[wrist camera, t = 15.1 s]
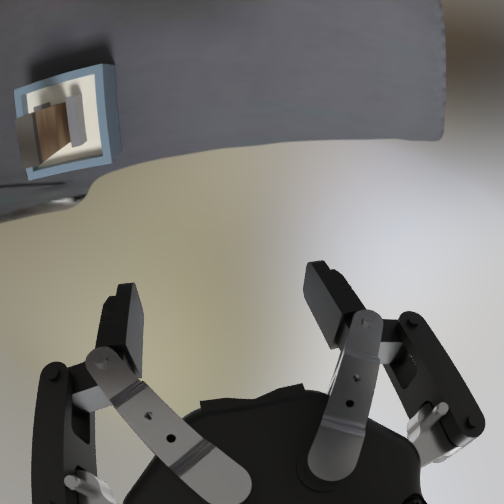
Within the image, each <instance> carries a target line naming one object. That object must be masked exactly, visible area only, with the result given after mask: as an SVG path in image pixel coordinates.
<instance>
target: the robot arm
mask: <svg viewBox="0 0 504 504" xmlns="http://www.w3.org/2000/svg"><path fill="white" fill-rule="evenodd" d="M303 292H304V297H305V300H306V302H307V304H308V306H309V307H310V310H311V312H312V314H313V316H314V317H315V319H316V321H317V323H318V325H319V327H320V329H321V331H322V333H323V335H324V337H325V339H326V341H327V343H328V345H329V347H330V349H335V348H339V349H340V351H341V353H340V355H339V358H338V361H337V365H336V368H335V371H334V374H333V377H332V380H331V383H330V385H329V388H328V391H327V393H326V394H325V393H322V392H319V391H314V390H305V389H304V386H303V384H302V383H301V384H297V385H292V386H288V387H283V388H279V389H276V390H274V391H272V392H270V393H267V394H265V395H263V396H261V397H258V398H256V399H236V398H221V399H213V400H206V401H200V405H201V408H199V409H197V410H194V411H192V412H191V413H189V414H188V415H186V416H185V417H183V418H182V419H181V418H180V417H179V416H178V415H177V414H176V413H175V412H174V411H173V410H172V409H171V408H170V407H169V406H168V405H167V404H166V403H165V402H164V401H163V400H162V399H161V398H160V397H159V396H158V395H157V394H156V393H155V392H154V391H153V390H152V389H151V388H150V387H149V386H148V385H147V384H146V383H145V382H144V381H142V382H141V381H140V380H139V379H138V378H142V348H143V326H144V314H143V309H142V305H141V301H140V298H139V295H138V291H137V288H136V285H135V283H125V284H119V285H118V288H117V293H116V296H109V297H108V299H107V300H106V302H105V303H104V305H103V309H102V315H101V319H100V324H99V330H98V335H97V340H96V346H95V349H94V350H92V351H91V352H90V353H89V354H88V355H87V357H86V360H85V362H83V363H80V364H78V365H74V366H72V367H68V368H67V367H66V365H65V364H63V363H61V362H52V363H50V364H48V365H46V366H45V367H44V369H43V370H42V372H41V375H40V380H39V386H38V393H37V400H36V408H35V416H34V427H33V439H32V440H33V441H32V461H31V487H32V504H118V503H117V502H116V501H115V499H114V497H113V495H112V492H111V489H110V487H109V486H108V484H106V483H105V482H104V481H103V480H101V479H99V478H98V477H97V467H96V449H95V411H96V410H99V409H102V408H105V407H108V406H110V405H113V406H114V408H115V409H116V410H117V411H118V413H119V414H120V415H121V416H122V418H123V419H124V420H125V421H126V422H127V423H128V425H129V426H130V427H131V428H132V429H133V431H134V432H135V433H136V434H137V435H138V436H139V437H140V439H141V440H142V441H143V442H144V443H145V444H146V445H147V446H148V447H149V448H150V450H152V452H153V453H154V454H155V456H154V458H153V459H152V461H151V462H150V463H149V465H148V466H147V468H146V469H145V470H144V472H143V473H142V475H141V476H140V477H139V479H138V480H137V482H136V483H135V484H134V486H133V487H132V489H131V490H130V491H129V493H128V494H127V496H126V497H125V499H124V501H123V504H427V503H426V501H425V500H424V498H423V496H422V493H421V488H420V469H421V468H422V467H424V466H426V465H428V464H430V463H432V462H433V463H439V462H442V461H444V460H446V459H447V458H448V457H450V456H452V455H453V454H455V453H456V452H457V451H459V450H460V449H462V448H463V447H465V446H466V445H467V444H469V443H470V442H471V441H473V440H474V439H476V438H477V437H478V436H479V435H480V434H482V432H483V431H484V428H485V418H484V416H483V414H482V412H481V410H480V408H479V406H478V404H477V403H476V401H475V399H474V397H473V396H472V394H471V392H470V390H469V389H468V387H467V385H466V383H465V382H464V380H463V378H462V377H461V375H460V373H459V372H458V370H457V368H456V367H455V366H454V364H453V362H452V360H451V359H450V357H449V356H448V354H447V353H446V351H445V350H444V348H443V346H442V345H441V343H440V342H439V340H438V339H437V338H436V336H435V334H434V333H433V331H432V330H431V328H430V327H429V325H428V324H427V322H426V321H425V320H424V318H423V317H422V316H420V315H419V314H417V313H415V312H412V311H407V312H404V313H402V314H401V315H400V317H399V319H398V320H389V319H388V320H387V319H382V318H381V316H380V315H379V314H378V313H376V312H374V311H372V310H367V309H366V308H365V307H364V305H363V304H362V302H361V301H360V299H359V298H358V296H357V295H356V294H355V292H354V291H353V290H352V288H351V286H350V285H349V284H348V282H347V281H346V279H345V278H344V276H343V275H342V274H340V273H339V272H338V271H336V270H335V269H332V270H330V269H329V267H328V266H327V264H326V263H325V261H323V260H321V261H314V262H308V263H307V266H306V273H305V279H304V286H303ZM410 355H411V356H410ZM414 362H415V363H414ZM380 364H383V366H384V368H385V370H386V372H387V374H388V376H389V378H390V380H391V382H392V384H393V386H394V388H395V390H396V392H397V394H398V396H399V398H400V400H401V402H402V405H403V407H404V409H405V411H406V413H407V415H408V417H409V419H410V420H409V422H408V424H407V433H408V434H407V438H408V439H407V438H405V437H403V436H401V435H400V434H398V433H395V432H394V431H392V430H390V429H388V428H386V427H384V426H383V425H381V424H379V423H377V422H375V421H373V420H372V419H370V418H368V415H369V410H370V407H371V402H372V398H373V394H374V389H375V385H376V380H377V375H378V370H379V365H380Z"/></svg>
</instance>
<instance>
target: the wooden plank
mask: <svg viewBox="0 0 504 504" xmlns="http://www.w3.org/2000/svg"><path fill="white" fill-rule="evenodd" d="M15 124H16V131H17V138H18V144H19V149H20V154H21V159H22V164H23V169H26V168H30V167H34V166H38V165H40V164H42V163H43V162H44V161H46V160H47V159H48V158H49V157H51V156H52V155H53V154H55V153H56V152H57V151H59V150H60V149H61V148H63V147H64V146H66V145H67V144H68V143H70V142H71V139H70V132H69V125H68V117H67V108H66V102H63V103H60V104H56V105H53V106H50V107H47V108H44V109H41V110H38V111H35V112H32V113H29V114H27V115H24V116H22V117H19V118H16V119H15Z"/></svg>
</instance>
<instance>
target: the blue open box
mask: <svg viewBox="0 0 504 504" xmlns="http://www.w3.org/2000/svg"><path fill="white" fill-rule="evenodd" d="M14 95H15V105H16V114H17V118H19V117H22V116H24V115H27V114H29V113H32V112H35V111H38V110H41V109H44V108H47V107H50V106H53V105H56V104H60V103H63V102H66V108H67V117H68V125H69V132H70V139H71V142H70V143H68V144H67V145H66V146H64V147H63V148H61V149H60V150H59V151H57V152H56V153H55V154H53V155H52V156H51V157H49V158H48V159H47V160H46V161H44V162H43V163H42V164H40V165H38V166H34V167H30V168H26V171H27V175H28V179H29V180H33V179H37V178H41V177H46V176H50V175H54V174H59V173H63V172H68V171H73V170H78V169H83V168H88V167H93V166H99V165H105V164H111V163H113V161H114V160H115V159H116V157H117V156H118V154H119V153H120V152H121V150H122V145H121V137H120V128H119V118H118V106H117V93H116V76H115V65H110V64H98V65H94V66H90V67H86V68H82V69H78V70H74V71H70V72H67V73H63V74H60V75H56V76H53V77H50V78H47V79H44V80H41V81H38V82H35V83H32V84H29V85H27V86H24V87H21V88H19V89H16V90H14Z"/></svg>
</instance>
